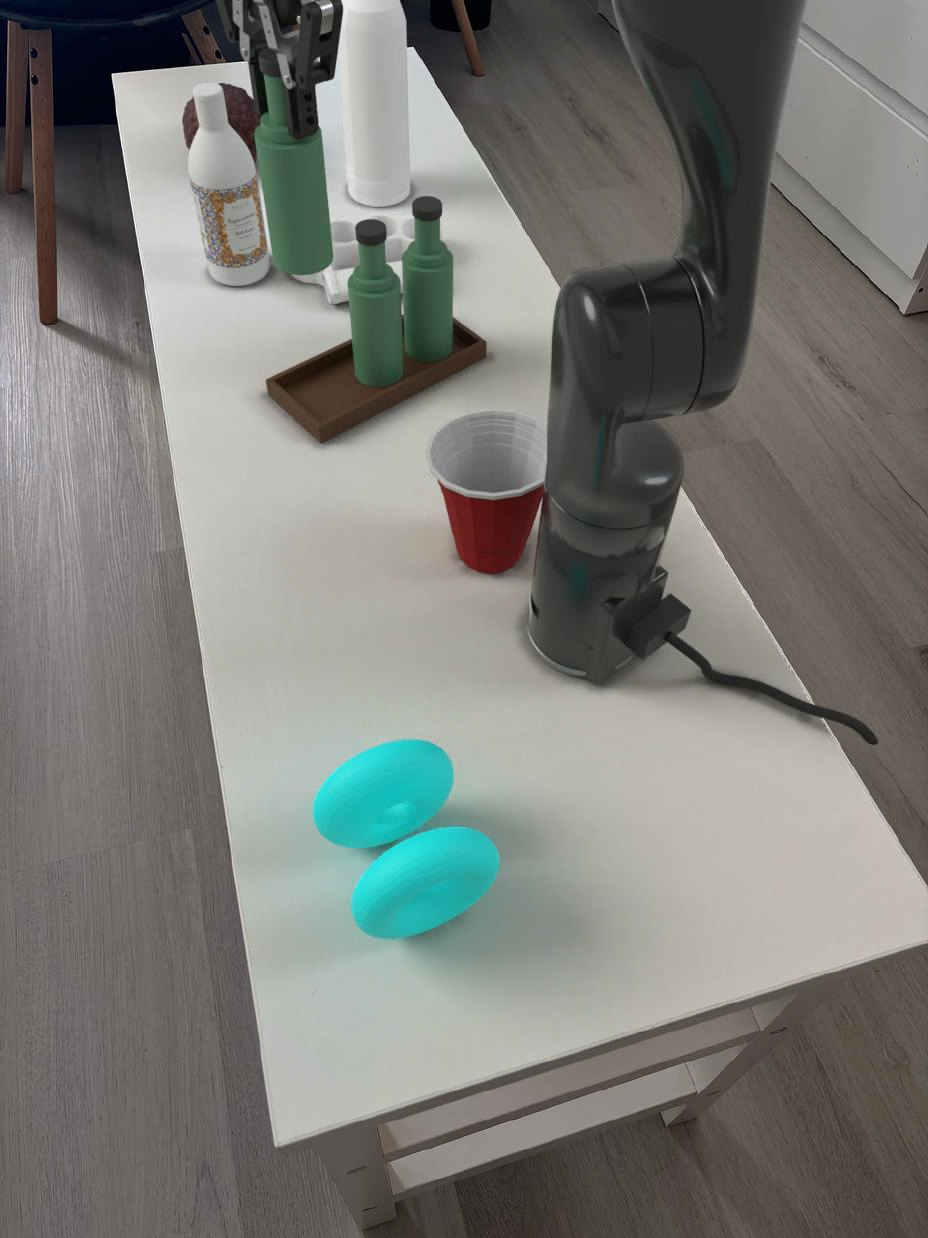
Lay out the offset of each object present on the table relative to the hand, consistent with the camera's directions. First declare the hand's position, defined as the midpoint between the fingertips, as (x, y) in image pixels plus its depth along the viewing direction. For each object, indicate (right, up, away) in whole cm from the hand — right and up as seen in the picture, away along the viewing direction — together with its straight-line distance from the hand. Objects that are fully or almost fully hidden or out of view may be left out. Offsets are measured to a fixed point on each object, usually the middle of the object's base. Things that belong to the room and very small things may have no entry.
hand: (287, 122), depth 73 cm
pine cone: (-17, +23, +55) cm, 62 cm away
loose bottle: (0, -7, +9) cm, 11 cm away
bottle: (+3, +17, +50) cm, 53 cm away
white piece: (+2, +3, +40) cm, 40 cm away
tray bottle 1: (+4, -12, +28) cm, 30 cm away
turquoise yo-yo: (+9, -54, -5) cm, 55 cm away
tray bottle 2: (+9, -8, +30) cm, 33 cm away
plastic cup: (+15, -31, +14) cm, 37 cm away
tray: (+4, -12, +28) cm, 31 cm away
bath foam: (-12, +3, +39) cm, 41 cm away
